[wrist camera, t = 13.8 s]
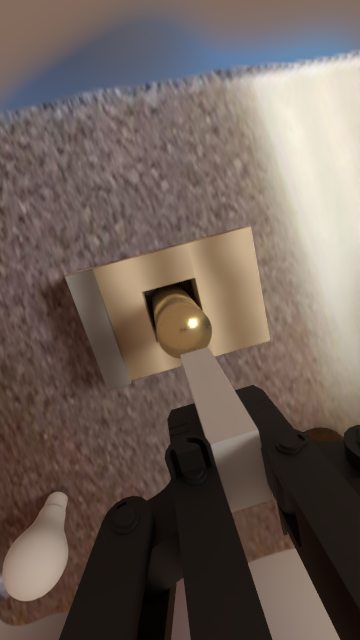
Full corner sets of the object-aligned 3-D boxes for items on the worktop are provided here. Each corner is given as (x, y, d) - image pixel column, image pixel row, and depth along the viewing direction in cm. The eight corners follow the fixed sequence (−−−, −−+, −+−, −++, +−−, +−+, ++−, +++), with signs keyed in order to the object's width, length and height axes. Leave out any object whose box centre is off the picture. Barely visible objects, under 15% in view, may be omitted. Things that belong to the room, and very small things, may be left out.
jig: (237, 228, 30) (253, 225, 26) (255, 329, 34) (273, 343, 29) (75, 271, 29) (62, 277, 25) (111, 370, 33) (106, 391, 28)
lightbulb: (82, 512, 38) (58, 615, 28) (35, 512, 37) (-9, 619, 27) (84, 475, 36) (59, 570, 26) (34, 475, 36) (-12, 573, 25)
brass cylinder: (183, 280, 31) (205, 299, 21) (192, 314, 32) (217, 349, 22) (147, 290, 31) (150, 315, 20) (158, 325, 32) (166, 365, 22)
